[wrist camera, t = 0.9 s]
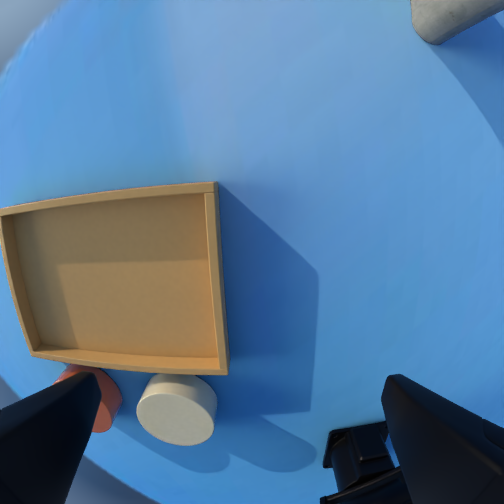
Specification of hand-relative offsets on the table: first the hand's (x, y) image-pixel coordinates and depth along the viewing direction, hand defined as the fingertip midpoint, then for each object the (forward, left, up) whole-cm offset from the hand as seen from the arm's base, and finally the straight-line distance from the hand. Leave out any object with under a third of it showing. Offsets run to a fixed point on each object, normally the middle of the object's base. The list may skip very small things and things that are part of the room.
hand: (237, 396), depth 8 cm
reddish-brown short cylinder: (-12, +15, -13) cm, 23 cm away
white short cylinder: (-12, +6, -13) cm, 19 cm away
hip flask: (+25, -15, -13) cm, 32 cm away
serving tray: (-1, +11, -13) cm, 17 cm away
